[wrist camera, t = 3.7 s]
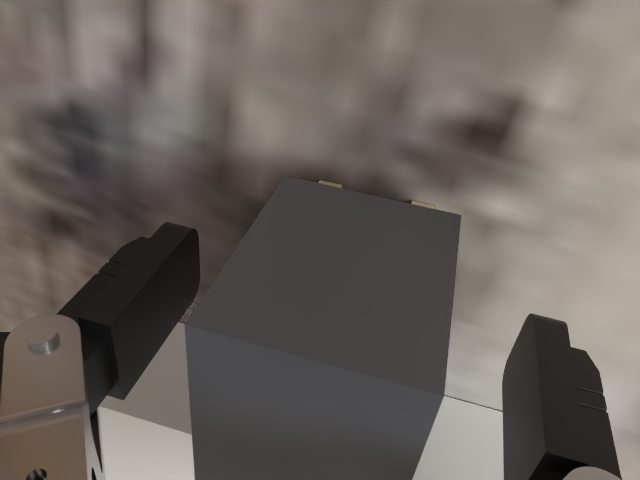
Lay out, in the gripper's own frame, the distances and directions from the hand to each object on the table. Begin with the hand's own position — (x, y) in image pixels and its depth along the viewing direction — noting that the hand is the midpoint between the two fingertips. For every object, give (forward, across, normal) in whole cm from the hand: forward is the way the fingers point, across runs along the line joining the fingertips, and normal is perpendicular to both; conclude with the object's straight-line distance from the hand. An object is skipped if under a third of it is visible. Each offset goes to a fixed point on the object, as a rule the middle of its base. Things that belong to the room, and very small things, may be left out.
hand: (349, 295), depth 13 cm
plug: (+2, 0, 0) cm, 2 cm away
